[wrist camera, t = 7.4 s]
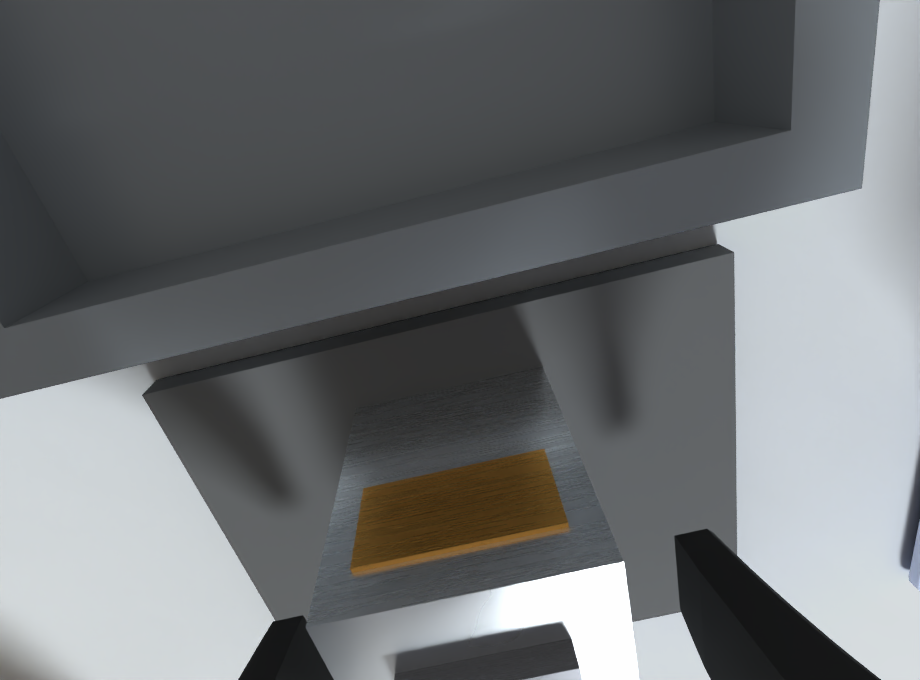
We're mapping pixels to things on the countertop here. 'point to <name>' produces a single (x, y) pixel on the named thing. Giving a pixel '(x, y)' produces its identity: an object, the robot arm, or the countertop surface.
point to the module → (470, 545)
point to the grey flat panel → (473, 359)
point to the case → (382, 152)
